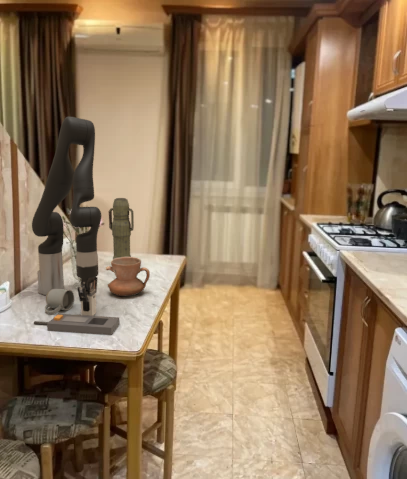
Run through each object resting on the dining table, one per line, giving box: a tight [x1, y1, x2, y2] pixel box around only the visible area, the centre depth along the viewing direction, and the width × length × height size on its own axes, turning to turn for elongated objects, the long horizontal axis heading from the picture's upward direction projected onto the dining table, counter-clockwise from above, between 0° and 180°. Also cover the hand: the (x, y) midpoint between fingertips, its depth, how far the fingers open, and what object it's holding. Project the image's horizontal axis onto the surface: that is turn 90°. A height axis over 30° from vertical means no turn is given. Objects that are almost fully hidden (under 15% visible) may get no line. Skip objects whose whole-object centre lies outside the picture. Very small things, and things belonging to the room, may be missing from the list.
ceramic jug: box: [105, 256, 151, 297], centre depth 191 cm, size 18×14×14 cm
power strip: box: [33, 313, 121, 336], centre depth 158 cm, size 29×9×3 cm, turn 83°
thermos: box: [108, 197, 135, 260], centre depth 221 cm, size 9×12×35 cm
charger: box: [80, 289, 97, 316], centre depth 167 cm, size 4×4×9 cm
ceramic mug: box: [44, 288, 75, 315], centre depth 172 cm, size 11×8×8 cm
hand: (88, 308), depth 168 cm, fingers closed on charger, 4 cm apart
